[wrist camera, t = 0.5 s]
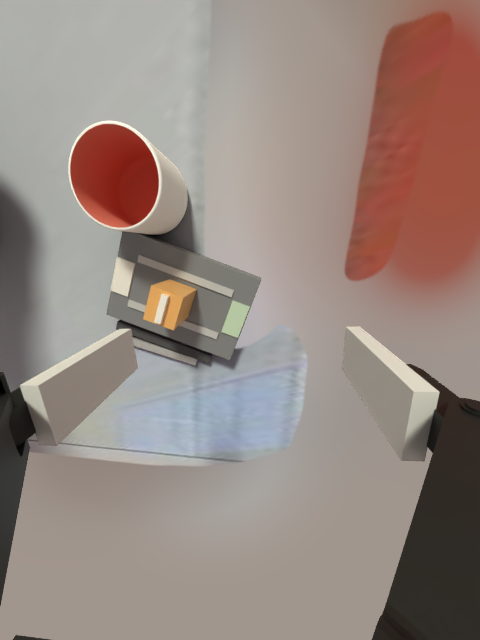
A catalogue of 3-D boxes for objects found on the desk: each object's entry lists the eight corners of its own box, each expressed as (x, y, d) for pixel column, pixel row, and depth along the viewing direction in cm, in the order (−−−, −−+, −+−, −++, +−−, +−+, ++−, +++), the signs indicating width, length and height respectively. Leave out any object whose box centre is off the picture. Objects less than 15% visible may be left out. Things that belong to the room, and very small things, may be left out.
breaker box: (117, 309, 40) (105, 314, 36) (134, 229, 36) (121, 228, 33) (232, 352, 40) (229, 361, 37) (261, 277, 36) (260, 280, 33)
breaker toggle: (162, 307, 35) (140, 320, 29) (170, 279, 34) (148, 286, 28) (188, 317, 35) (171, 332, 29) (196, 289, 34) (181, 298, 28)
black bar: (120, 326, 40) (116, 329, 39) (121, 319, 40) (117, 321, 39) (210, 360, 41) (208, 363, 40) (212, 353, 40) (211, 356, 39)
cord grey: (118, 337, 41) (114, 339, 40) (119, 331, 41) (115, 333, 40) (196, 362, 41) (195, 365, 40) (198, 356, 41) (196, 359, 40)
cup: (153, 249, 36) (113, 249, 27) (107, 190, 34) (48, 168, 25) (204, 205, 34) (181, 189, 24) (158, 139, 32) (114, 94, 23)
